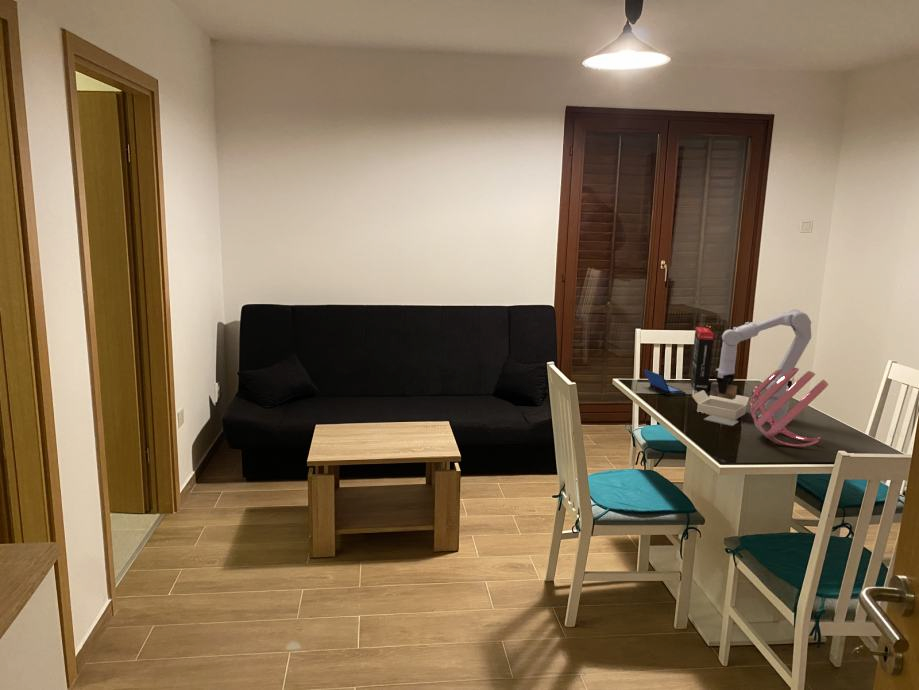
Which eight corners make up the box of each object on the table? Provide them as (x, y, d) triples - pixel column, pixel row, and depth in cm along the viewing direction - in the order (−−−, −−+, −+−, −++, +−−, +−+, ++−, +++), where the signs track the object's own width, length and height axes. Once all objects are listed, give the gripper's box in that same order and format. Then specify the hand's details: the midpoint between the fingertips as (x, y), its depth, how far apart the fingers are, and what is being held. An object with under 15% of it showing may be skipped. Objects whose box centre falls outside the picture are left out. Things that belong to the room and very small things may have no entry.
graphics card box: (708, 391, 312) (716, 333, 307) (692, 390, 314) (699, 331, 309) (703, 383, 329) (710, 327, 324) (688, 381, 330) (694, 326, 325)
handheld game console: (686, 396, 304) (689, 375, 302) (660, 396, 300) (662, 376, 298) (666, 387, 318) (668, 367, 317) (641, 387, 314) (643, 368, 313)
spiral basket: (867, 395, 237) (802, 342, 247) (838, 428, 219) (769, 369, 229) (813, 441, 256) (755, 390, 266) (783, 474, 238) (722, 418, 248)
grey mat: (738, 422, 266) (739, 421, 266) (732, 426, 260) (732, 425, 260) (710, 415, 273) (710, 414, 273) (703, 419, 267) (703, 418, 266)
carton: (754, 414, 279) (756, 398, 278) (742, 422, 267) (744, 406, 265) (703, 403, 292) (705, 388, 291) (689, 410, 279) (691, 395, 278)
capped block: (735, 398, 275) (737, 385, 274) (732, 399, 272) (734, 387, 271) (713, 393, 281) (714, 381, 280) (709, 395, 278) (711, 383, 277)
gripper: (723, 355, 282) (719, 387, 284) (711, 360, 270) (707, 393, 273) (741, 358, 277) (737, 391, 280) (729, 363, 266) (725, 397, 269)
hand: (723, 392), depth 276 cm, fingers closed on capped block, 4 cm apart
